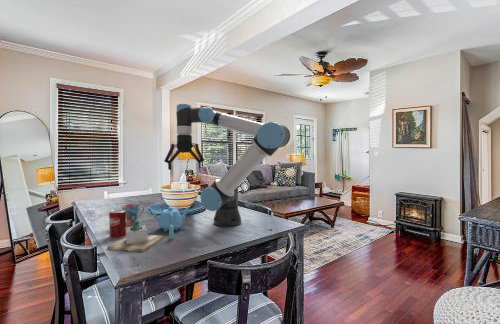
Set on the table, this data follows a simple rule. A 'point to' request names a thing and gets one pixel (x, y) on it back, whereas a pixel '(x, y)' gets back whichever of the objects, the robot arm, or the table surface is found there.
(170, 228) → the stand rod
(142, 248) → the peg stand
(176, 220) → the teapot
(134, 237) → the white square bowl
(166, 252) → the table surface
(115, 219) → the soda can
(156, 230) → the table surface
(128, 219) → the mug
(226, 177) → the robot arm
